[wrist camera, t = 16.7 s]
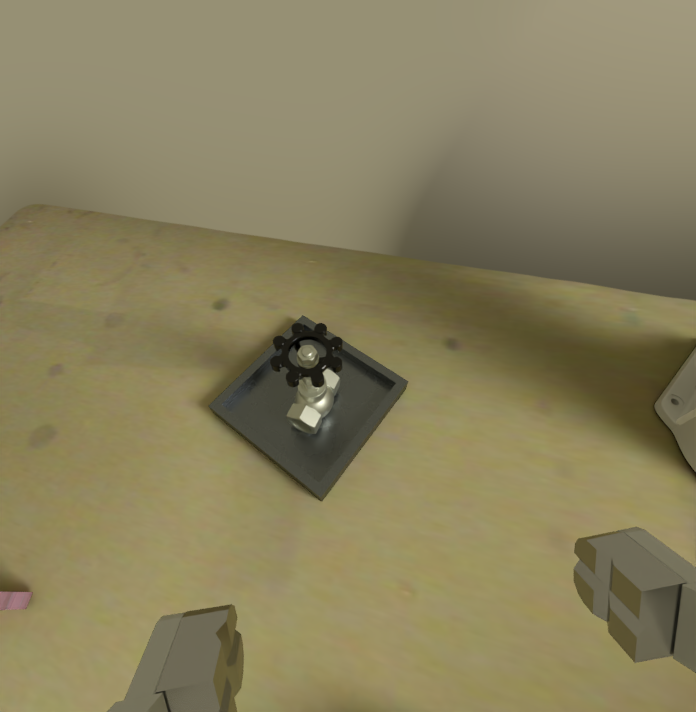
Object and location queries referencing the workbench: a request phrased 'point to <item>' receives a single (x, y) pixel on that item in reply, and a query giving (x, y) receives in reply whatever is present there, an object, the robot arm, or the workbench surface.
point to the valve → (309, 375)
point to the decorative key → (14, 600)
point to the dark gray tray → (338, 428)
